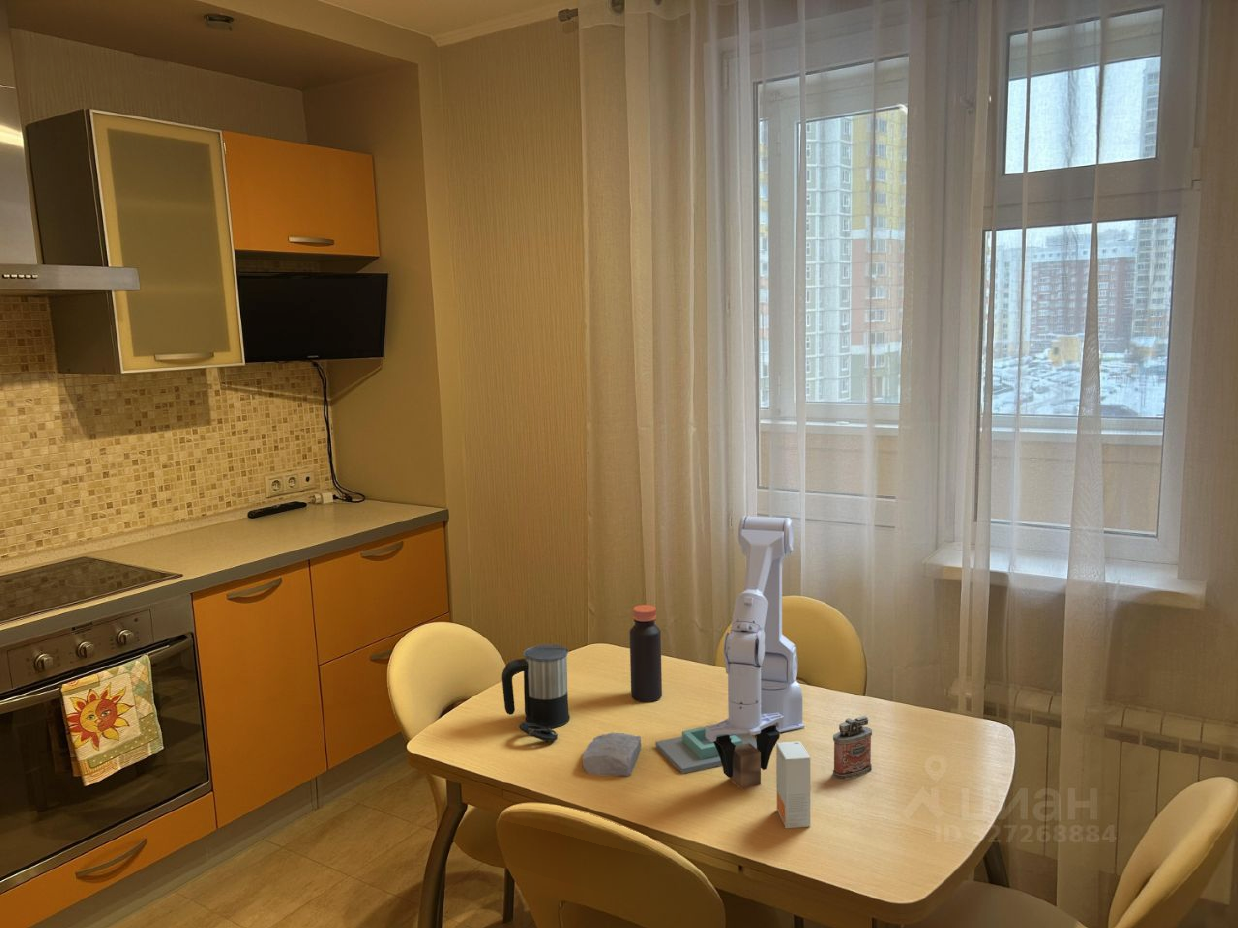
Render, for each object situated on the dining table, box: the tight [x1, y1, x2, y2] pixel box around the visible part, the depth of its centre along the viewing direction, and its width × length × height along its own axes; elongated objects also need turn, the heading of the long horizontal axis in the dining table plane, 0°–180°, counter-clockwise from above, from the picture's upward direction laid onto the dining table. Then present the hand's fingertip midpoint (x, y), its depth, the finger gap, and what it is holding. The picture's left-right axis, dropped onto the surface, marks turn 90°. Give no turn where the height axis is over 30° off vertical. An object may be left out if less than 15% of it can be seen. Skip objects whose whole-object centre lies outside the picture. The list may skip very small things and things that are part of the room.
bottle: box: [629, 604, 663, 703], centre depth 199 cm, size 7×7×20 cm
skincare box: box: [775, 740, 811, 829], centre depth 148 cm, size 6×4×12 cm
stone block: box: [582, 732, 642, 777], centre depth 171 cm, size 12×5×10 cm
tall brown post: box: [729, 743, 762, 790], centre depth 161 cm, size 4×4×6 cm
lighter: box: [832, 715, 873, 781], centre depth 163 cm, size 8×3×10 cm, turn 117°
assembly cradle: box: [655, 723, 757, 775], centre depth 173 cm, size 18×12×3 cm, turn 112°
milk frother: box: [501, 644, 571, 743], centre depth 184 cm, size 14×16×15 cm
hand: (745, 771), depth 161 cm, fingers open, 6 cm apart
